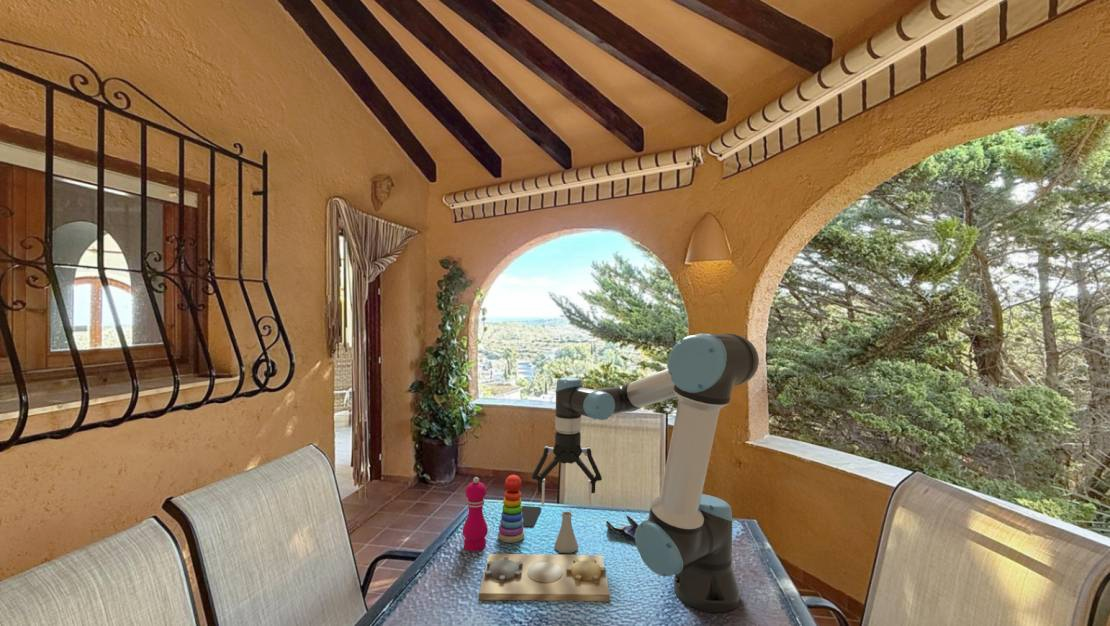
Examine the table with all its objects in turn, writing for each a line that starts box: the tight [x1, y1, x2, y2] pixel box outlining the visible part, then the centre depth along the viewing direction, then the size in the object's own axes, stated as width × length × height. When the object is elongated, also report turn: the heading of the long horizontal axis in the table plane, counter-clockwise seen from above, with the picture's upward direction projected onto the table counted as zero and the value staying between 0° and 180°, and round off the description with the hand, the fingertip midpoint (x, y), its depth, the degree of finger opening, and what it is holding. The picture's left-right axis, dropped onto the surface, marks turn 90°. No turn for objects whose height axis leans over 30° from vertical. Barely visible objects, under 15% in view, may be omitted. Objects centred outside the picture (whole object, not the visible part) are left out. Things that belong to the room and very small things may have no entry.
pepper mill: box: [462, 476, 489, 552], centre depth 133 cm, size 7×7×20 cm
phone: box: [522, 505, 542, 529], centre depth 153 cm, size 7×1×15 cm
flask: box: [554, 510, 579, 554], centre depth 132 cm, size 7×7×10 cm
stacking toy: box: [497, 474, 525, 544], centre depth 138 cm, size 8×8×19 cm
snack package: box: [605, 514, 640, 541], centre depth 141 cm, size 12×6×12 cm
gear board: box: [478, 553, 611, 602], centre depth 116 cm, size 31×18×3 cm, turn 90°
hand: (566, 503), depth 133 cm, fingers open, 13 cm apart
